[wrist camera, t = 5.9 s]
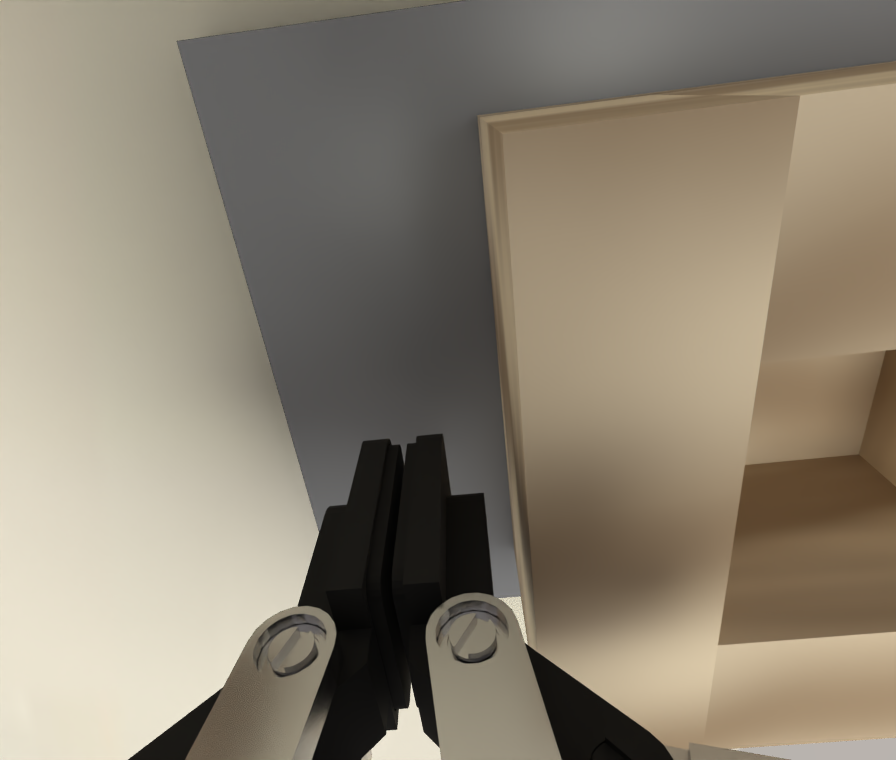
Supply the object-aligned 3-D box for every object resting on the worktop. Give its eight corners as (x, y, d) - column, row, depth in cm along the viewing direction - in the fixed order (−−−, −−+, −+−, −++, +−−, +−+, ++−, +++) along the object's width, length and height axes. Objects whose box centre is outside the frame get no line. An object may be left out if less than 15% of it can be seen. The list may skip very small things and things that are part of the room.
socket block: (477, 115, 12) (502, 133, 6) (1092, 35, 11) (1712, -21, 6) (514, 550, 17) (544, 761, 12) (926, 514, 16) (1160, 719, 11)
